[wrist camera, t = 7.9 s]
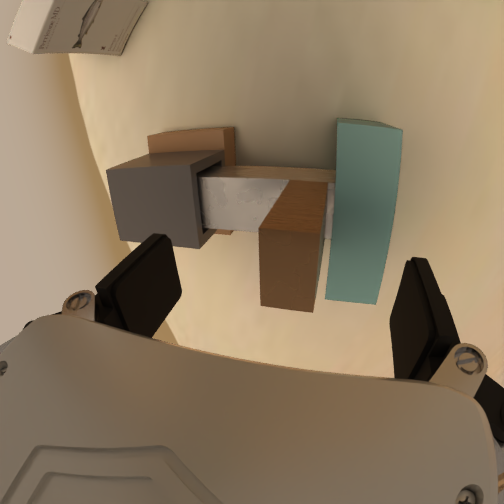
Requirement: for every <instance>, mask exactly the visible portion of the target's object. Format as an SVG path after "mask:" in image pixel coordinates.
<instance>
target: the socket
mask: <svg viewBox="0 0 504 504" xmlns="http://www.w3.org/2000/svg"><path fill="white" fill-rule="evenodd" d="M402 132H403V130H401V129H398V128H395V127H393V126H390V125H387V124H384V123H381V122H375V121H366V120H356V119H344V118H337V154H336V184H335V201H334V215H333V228H332V239H331V248H330V258H329V268H328V277H327V286H326V294H325V299H327V300H336V301H345V302H355V303H365V304H375V305H376V302H377V298H378V294H379V290H380V286H381V282H382V277H383V273H384V268H385V263H386V258H387V253H388V248H389V243H390V237H391V232H392V226H393V219H394V213H395V206H396V198H397V191H398V182H399V172H400V162H401V149H402Z"/></svg>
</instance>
